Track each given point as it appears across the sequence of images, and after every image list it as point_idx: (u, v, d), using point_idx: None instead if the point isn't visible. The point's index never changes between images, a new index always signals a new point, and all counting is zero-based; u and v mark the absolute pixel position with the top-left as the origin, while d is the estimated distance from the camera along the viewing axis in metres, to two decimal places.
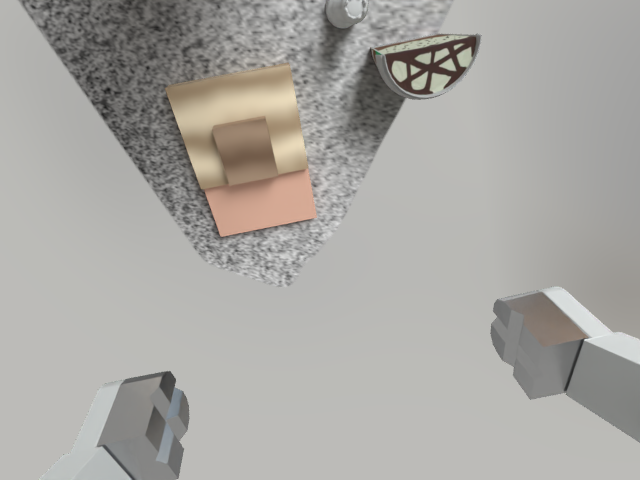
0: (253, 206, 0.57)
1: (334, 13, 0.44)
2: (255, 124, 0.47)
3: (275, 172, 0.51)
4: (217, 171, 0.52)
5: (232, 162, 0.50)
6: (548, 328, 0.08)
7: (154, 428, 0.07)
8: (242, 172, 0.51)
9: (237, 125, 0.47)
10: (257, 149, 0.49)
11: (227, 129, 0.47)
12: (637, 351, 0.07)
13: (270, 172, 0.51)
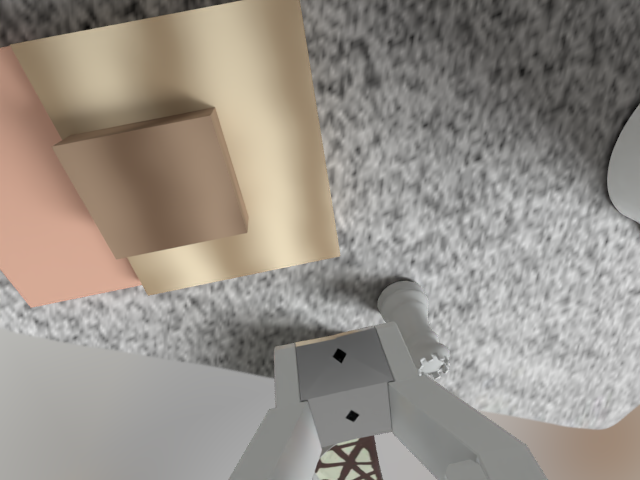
0: (8, 178, 0.22)
1: (404, 305, 0.30)
2: (233, 214, 0.21)
3: (124, 253, 0.22)
4: (88, 102, 0.19)
5: (128, 160, 0.19)
6: (361, 369, 0.07)
7: None
8: (104, 182, 0.19)
9: (227, 177, 0.20)
10: (175, 217, 0.21)
11: (214, 152, 0.19)
12: (428, 397, 0.07)
13: (122, 244, 0.21)
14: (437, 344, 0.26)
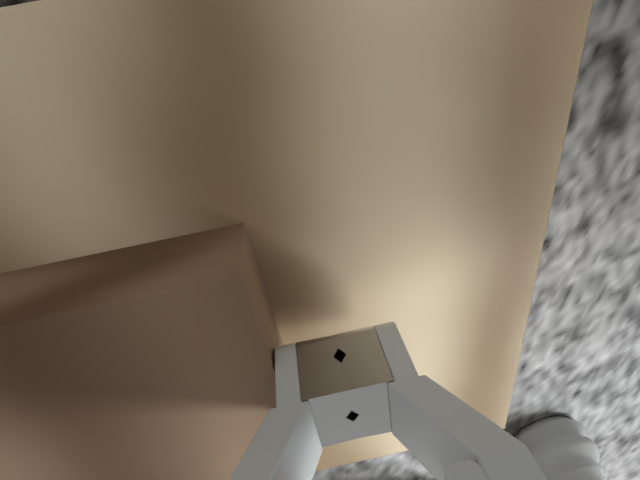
0: None
1: (573, 471, 0.19)
2: None
3: None
4: (15, 202, 0.07)
5: (22, 380, 0.07)
6: (361, 369, 0.07)
7: None
8: None
9: (274, 388, 0.08)
10: (151, 462, 0.09)
11: (247, 349, 0.08)
12: (428, 397, 0.07)
13: None
14: None
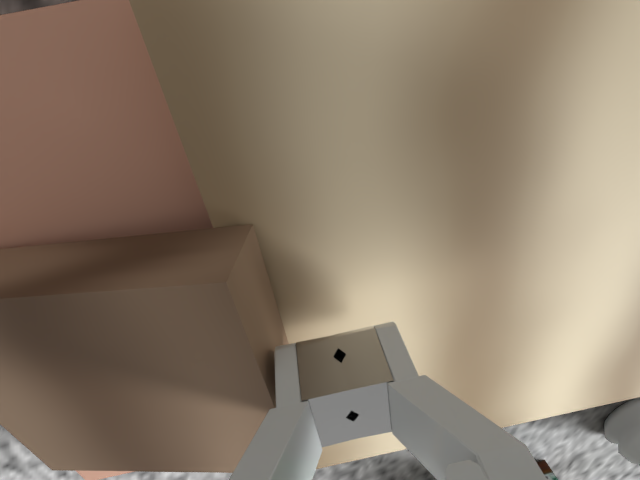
0: None
1: None
2: None
3: (64, 466, 0.11)
4: (296, 143, 0.07)
5: (39, 345, 0.08)
6: (361, 369, 0.07)
7: None
8: (0, 373, 0.09)
9: (264, 394, 0.08)
10: (151, 436, 0.10)
11: (235, 353, 0.08)
12: (428, 397, 0.07)
13: (58, 456, 0.11)
14: None
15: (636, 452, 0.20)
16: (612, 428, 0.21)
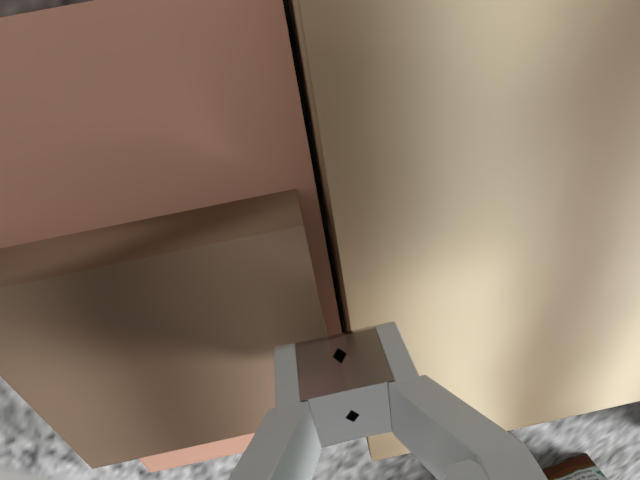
0: None
1: None
2: None
3: (108, 460, 0.11)
4: (427, 121, 0.07)
5: (112, 317, 0.08)
6: (361, 369, 0.07)
7: None
8: (62, 357, 0.09)
9: (321, 333, 0.10)
10: (209, 402, 0.10)
11: (302, 294, 0.09)
12: (429, 397, 0.07)
13: (104, 448, 0.11)
14: None
15: None
16: None
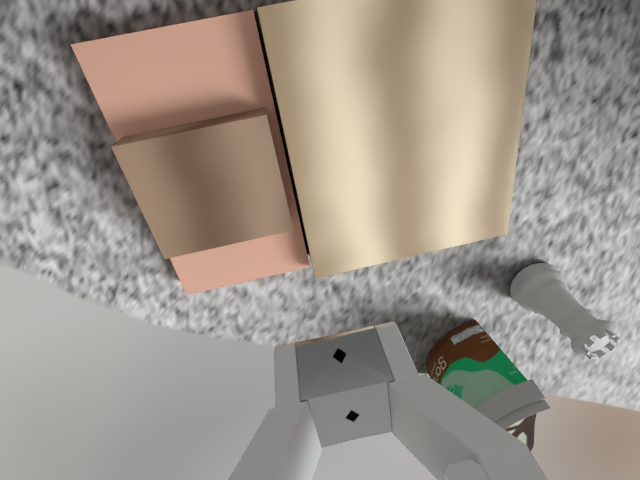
0: None
1: (549, 286, 0.30)
2: (281, 212, 0.22)
3: (172, 253, 0.22)
4: (315, 70, 0.19)
5: (184, 159, 0.19)
6: (362, 369, 0.07)
7: None
8: (159, 181, 0.20)
9: (278, 175, 0.20)
10: (225, 216, 0.21)
11: (268, 151, 0.20)
12: (429, 397, 0.07)
13: (171, 244, 0.22)
14: (605, 321, 0.26)
15: (526, 297, 0.31)
16: (513, 287, 0.32)
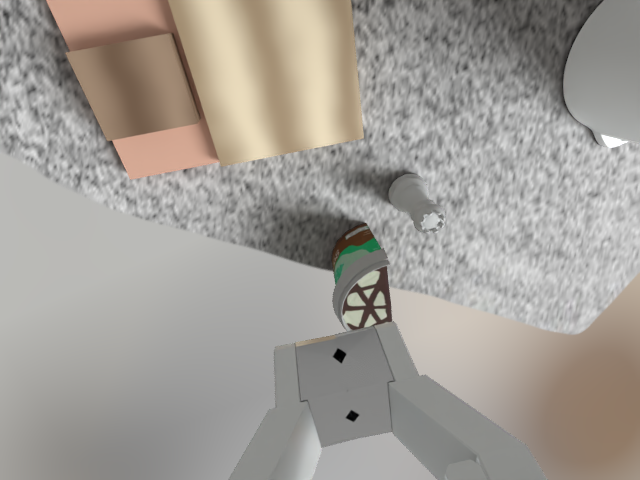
0: None
1: (410, 188, 0.39)
2: (187, 108, 0.31)
3: (112, 136, 0.32)
4: (199, 3, 0.28)
5: (114, 64, 0.29)
6: (361, 369, 0.07)
7: None
8: (99, 80, 0.29)
9: (181, 79, 0.30)
10: (147, 109, 0.31)
11: (172, 60, 0.29)
12: (429, 397, 0.07)
13: (111, 129, 0.31)
14: (435, 204, 0.35)
15: (396, 198, 0.40)
16: (390, 193, 0.41)
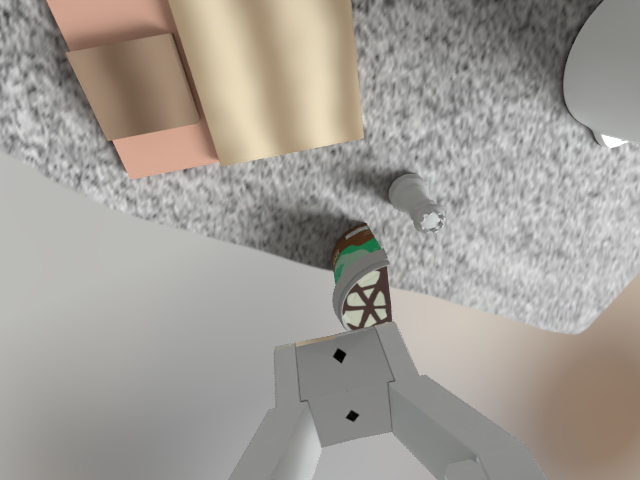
0: None
1: (410, 187, 0.39)
2: (187, 108, 0.31)
3: (113, 136, 0.32)
4: (199, 3, 0.28)
5: (114, 64, 0.29)
6: (362, 369, 0.07)
7: None
8: (99, 80, 0.29)
9: (181, 79, 0.30)
10: (147, 109, 0.31)
11: (172, 60, 0.29)
12: (429, 397, 0.07)
13: (111, 129, 0.31)
14: (435, 204, 0.35)
15: (396, 198, 0.40)
16: (390, 193, 0.41)
